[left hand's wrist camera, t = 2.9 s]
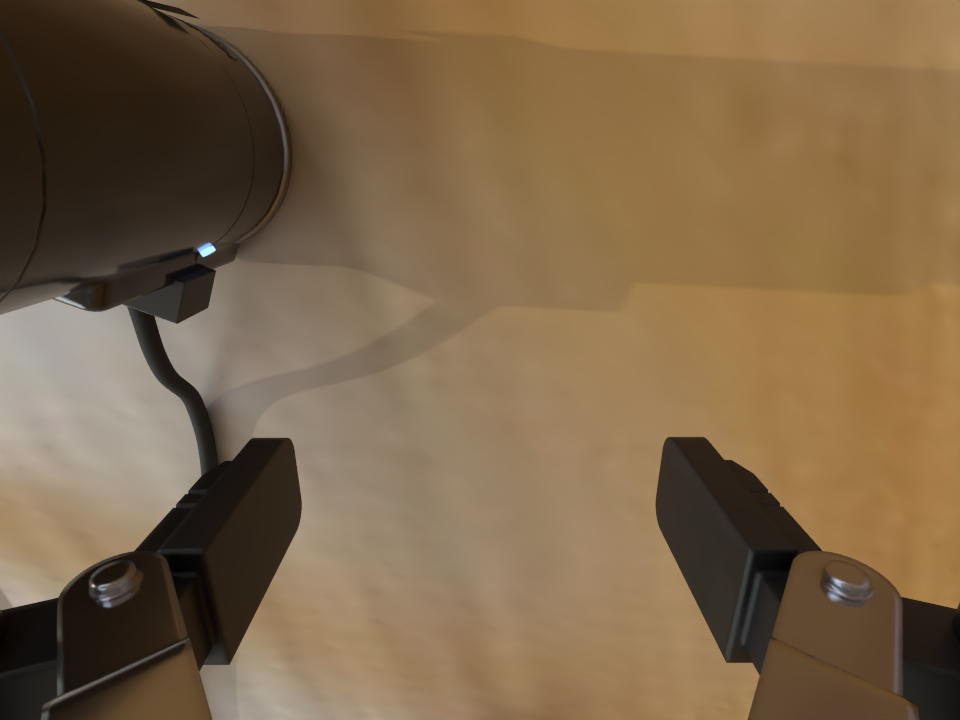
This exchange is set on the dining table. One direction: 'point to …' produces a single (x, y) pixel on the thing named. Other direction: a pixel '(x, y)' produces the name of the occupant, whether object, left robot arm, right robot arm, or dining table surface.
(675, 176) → the dining table surface
